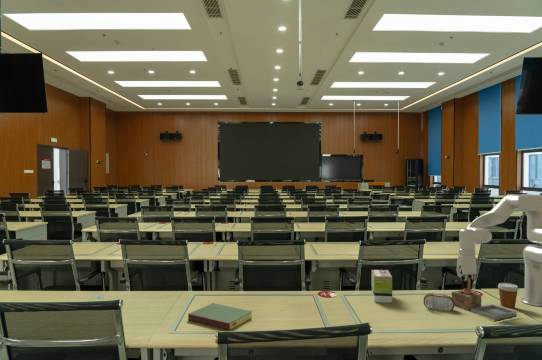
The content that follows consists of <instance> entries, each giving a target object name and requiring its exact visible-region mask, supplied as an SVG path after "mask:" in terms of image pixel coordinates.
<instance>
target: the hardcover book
mask: <svg viewBox="0 0 542 360" xmlns="http://www.w3.org/2000/svg"><path fill="white" fill-rule="evenodd" d="M252 313H253V311H252V310H249V309H248V310H247V309H242V308H238V307H233V306H228V305H224V304H219V303H214V302H212V303H210V304H208V305H205V306H203V307H200V308H198V309H196V310H194V311H191V312H190V313H189V312H188V313H187V320H188V321H189V322H193V323H197V324H201V325H205V326H209V327H212V328H217V329H221V330H224V329H226V330H225V331H228V330H230V329H231V330H232V328H233V329H234V328H237V327H238V326H240V325H242V324H243V323H246V322H247V321H249V320H250V319H252Z"/></svg>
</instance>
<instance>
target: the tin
mask: <svg viewBox="0 0 542 360" xmlns="http://www.w3.org/2000/svg"><path fill="white" fill-rule="evenodd" d="M423 305H424V307H425V308H426V309H428V310H430V311H433V310H442V311H448V312H449V311H450V312H452V311H453V310H454V309H455V307H456V306H455V302H454V300H453V298H452V296H451V295H447V294H441V293H440V294H439V293H434V292H431V293H426V294H425V295H424V297H423Z"/></svg>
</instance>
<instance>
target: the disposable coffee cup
mask: <svg viewBox="0 0 542 360" xmlns="http://www.w3.org/2000/svg"><path fill="white" fill-rule="evenodd" d="M497 288H498V293H499V301H500V307H502V308H506V309H509V308H510V309H514V310H515V309H516V302H517V295H518V291H519V287H518V285H517V284H513V283H509V282H500V283H498V285H497Z"/></svg>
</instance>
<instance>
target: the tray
mask: <svg viewBox="0 0 542 360" xmlns="http://www.w3.org/2000/svg"><path fill="white" fill-rule="evenodd" d="M470 312H471V313H475V314H477V315H479V316H483V317H485V318H489V319H491V320H492V321H493V322H494V323H496V322H500V321H505V320H509V319H514V318H517V311H515V310H511V309H509V308H507V307H503V306H499V305H495V304H487V305H481V307H476V308H471V310H470Z"/></svg>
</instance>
